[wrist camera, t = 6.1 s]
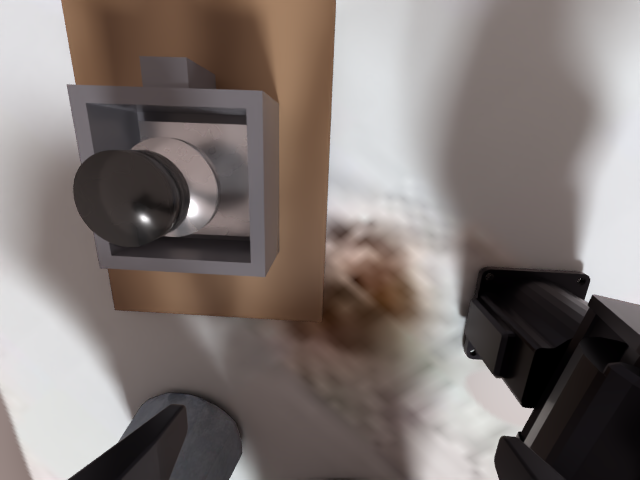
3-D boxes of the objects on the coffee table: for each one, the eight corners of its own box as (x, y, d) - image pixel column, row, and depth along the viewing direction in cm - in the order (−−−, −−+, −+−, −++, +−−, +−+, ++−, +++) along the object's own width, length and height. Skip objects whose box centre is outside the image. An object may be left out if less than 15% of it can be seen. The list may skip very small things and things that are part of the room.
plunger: (254, 125, 17) (199, 110, 10) (257, 234, 18) (211, 284, 12) (145, 121, 17) (17, 104, 10) (157, 229, 18) (56, 275, 12)
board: (335, 6, 16) (335, -1, 15) (322, 315, 21) (321, 322, 20) (73, 1, 16) (60, -7, 16) (122, 304, 22) (114, 309, 21)
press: (279, 79, 16) (261, 58, 12) (279, 251, 19) (265, 277, 15) (124, 74, 17) (61, 52, 13) (146, 244, 19) (99, 267, 16)
